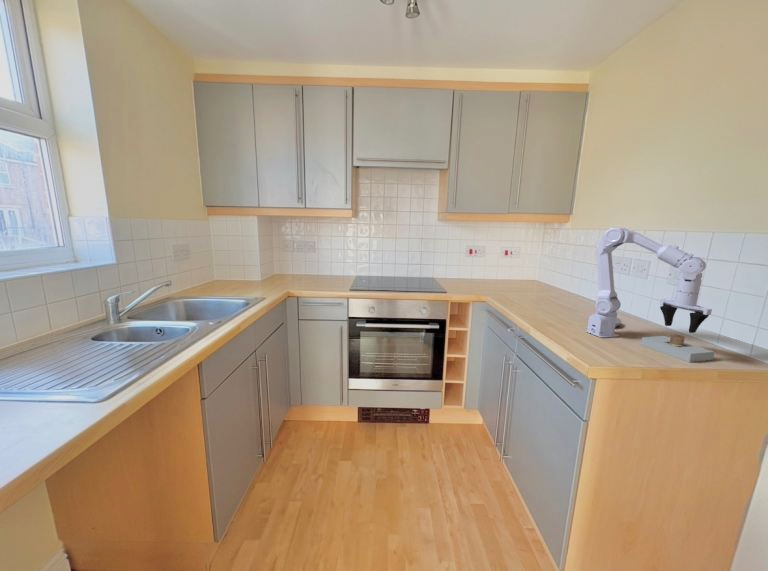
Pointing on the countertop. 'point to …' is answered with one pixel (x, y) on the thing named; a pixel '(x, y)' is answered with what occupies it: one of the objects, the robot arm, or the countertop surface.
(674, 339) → the walnut peg
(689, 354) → the grey board
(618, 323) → the stone block
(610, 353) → the countertop surface
